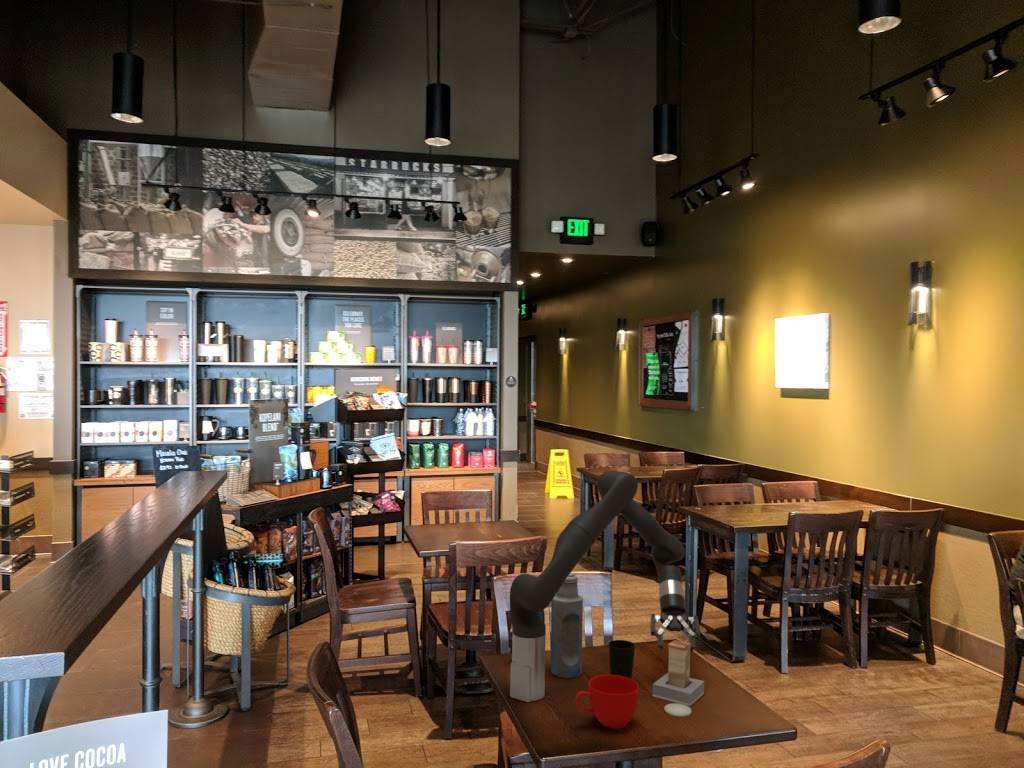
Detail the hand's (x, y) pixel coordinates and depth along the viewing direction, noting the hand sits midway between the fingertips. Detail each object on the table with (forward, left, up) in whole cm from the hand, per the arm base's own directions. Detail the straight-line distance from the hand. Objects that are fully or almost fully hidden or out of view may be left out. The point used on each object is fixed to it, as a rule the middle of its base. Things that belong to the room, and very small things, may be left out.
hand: (676, 649), depth 215 cm
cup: (-8, +14, -12) cm, 20 cm away
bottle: (-9, +32, -12) cm, 35 cm away
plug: (-4, -2, -11) cm, 12 cm away
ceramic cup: (-33, +6, -12) cm, 35 cm away
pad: (-14, -6, -11) cm, 19 cm away
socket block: (-4, -2, -11) cm, 12 cm away
